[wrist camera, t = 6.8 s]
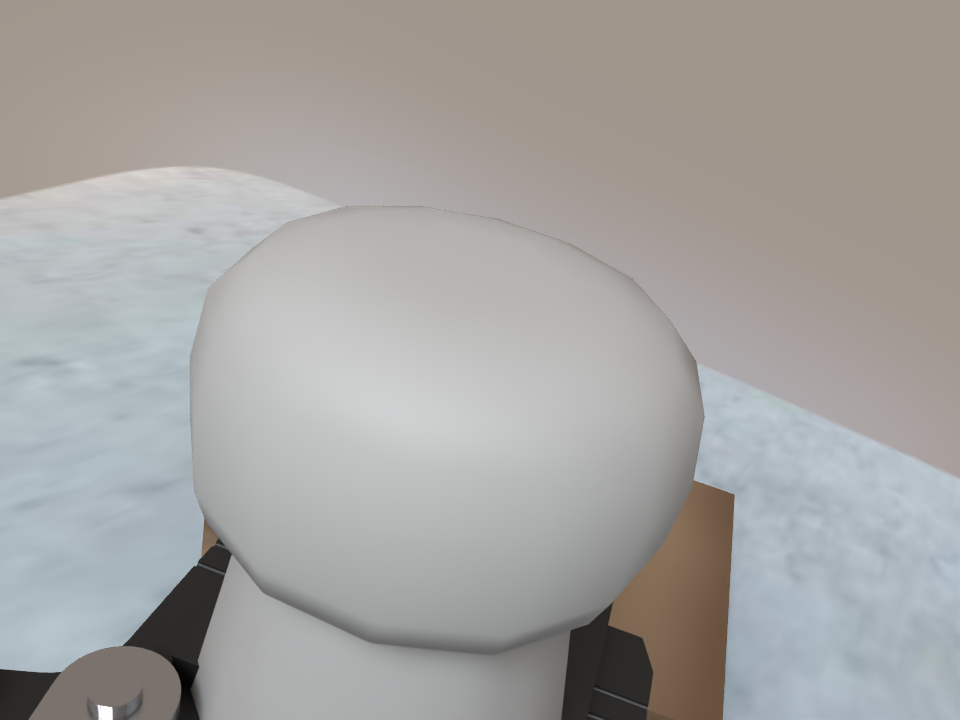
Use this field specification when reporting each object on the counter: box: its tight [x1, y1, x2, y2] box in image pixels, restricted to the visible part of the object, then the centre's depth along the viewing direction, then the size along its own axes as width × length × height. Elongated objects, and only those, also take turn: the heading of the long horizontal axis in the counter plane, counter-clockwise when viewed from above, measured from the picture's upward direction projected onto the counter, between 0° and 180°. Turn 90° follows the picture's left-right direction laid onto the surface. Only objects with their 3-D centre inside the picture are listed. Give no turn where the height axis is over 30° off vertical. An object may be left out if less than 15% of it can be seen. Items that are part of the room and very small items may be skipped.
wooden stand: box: [201, 480, 734, 720], centre depth 23 cm, size 12×9×8 cm
